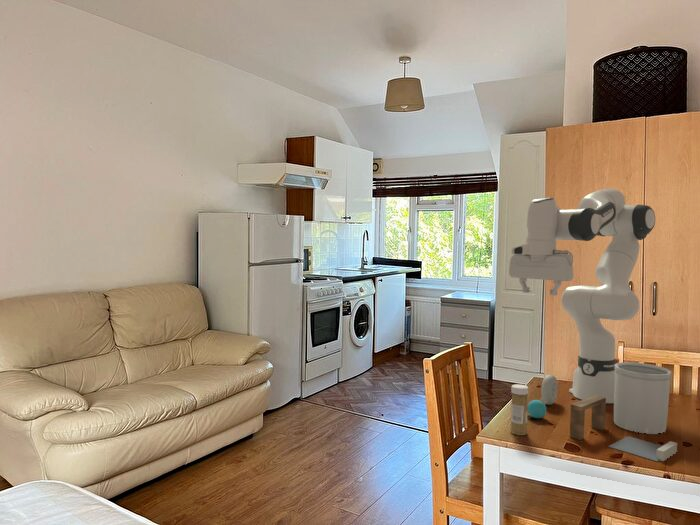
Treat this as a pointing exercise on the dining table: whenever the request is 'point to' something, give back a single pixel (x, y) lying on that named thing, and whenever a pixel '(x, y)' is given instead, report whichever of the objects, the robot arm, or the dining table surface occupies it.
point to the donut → (549, 389)
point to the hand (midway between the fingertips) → (539, 293)
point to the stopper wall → (666, 451)
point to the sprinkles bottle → (519, 409)
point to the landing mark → (637, 447)
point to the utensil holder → (641, 397)
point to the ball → (537, 409)
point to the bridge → (579, 415)
